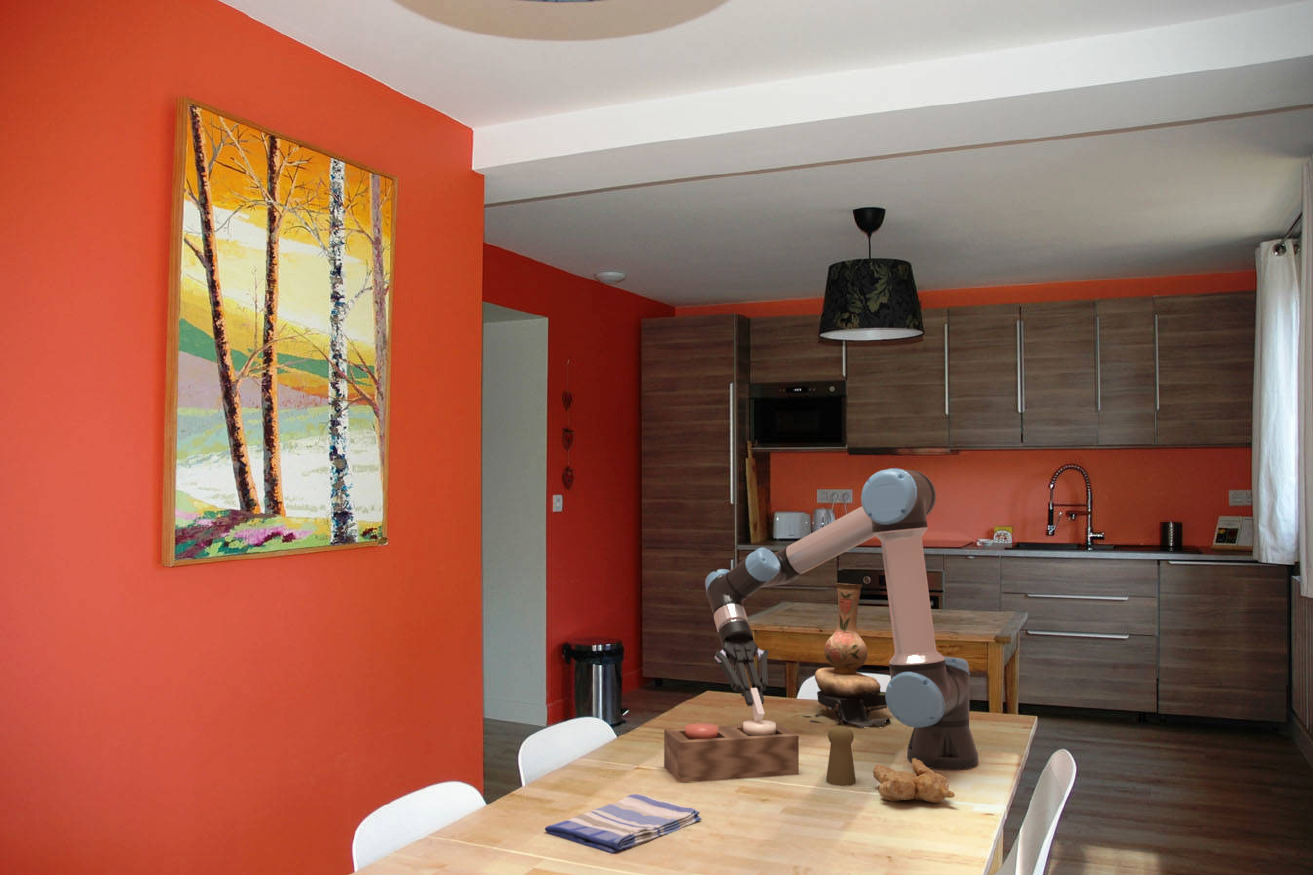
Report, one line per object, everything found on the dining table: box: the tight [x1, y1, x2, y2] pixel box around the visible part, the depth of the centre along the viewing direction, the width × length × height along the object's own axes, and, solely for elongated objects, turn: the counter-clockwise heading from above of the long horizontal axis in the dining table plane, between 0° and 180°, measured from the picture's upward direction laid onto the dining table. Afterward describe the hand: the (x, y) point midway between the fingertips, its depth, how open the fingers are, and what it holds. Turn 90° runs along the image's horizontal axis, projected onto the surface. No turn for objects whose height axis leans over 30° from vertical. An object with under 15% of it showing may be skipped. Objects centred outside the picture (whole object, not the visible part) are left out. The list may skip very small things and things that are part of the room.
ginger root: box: [872, 758, 955, 804], centre depth 198 cm, size 16×16×8 cm
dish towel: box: [544, 793, 702, 855], centre depth 181 cm, size 17×24×3 cm
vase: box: [801, 582, 891, 729], centre depth 272 cm, size 24×22×35 cm
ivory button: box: [742, 719, 777, 736], centre depth 219 cm, size 7×7×7 cm
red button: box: [684, 722, 718, 740], centre depth 216 cm, size 7×7×7 cm
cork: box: [825, 725, 857, 787], centre depth 210 cm, size 6×6×11 cm
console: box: [663, 722, 800, 783], centre depth 217 cm, size 26×12×8 cm, turn 105°
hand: (759, 717), depth 219 cm, fingers closed
